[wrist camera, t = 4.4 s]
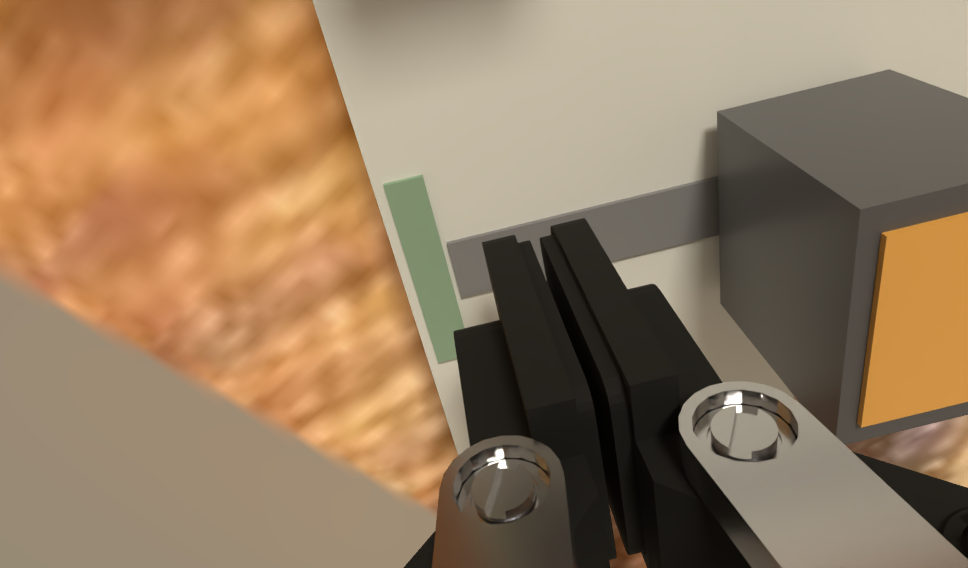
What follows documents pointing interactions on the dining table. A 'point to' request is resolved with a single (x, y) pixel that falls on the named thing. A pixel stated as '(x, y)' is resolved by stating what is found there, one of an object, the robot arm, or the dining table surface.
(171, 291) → the dining table surface
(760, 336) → the block
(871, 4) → the panel
